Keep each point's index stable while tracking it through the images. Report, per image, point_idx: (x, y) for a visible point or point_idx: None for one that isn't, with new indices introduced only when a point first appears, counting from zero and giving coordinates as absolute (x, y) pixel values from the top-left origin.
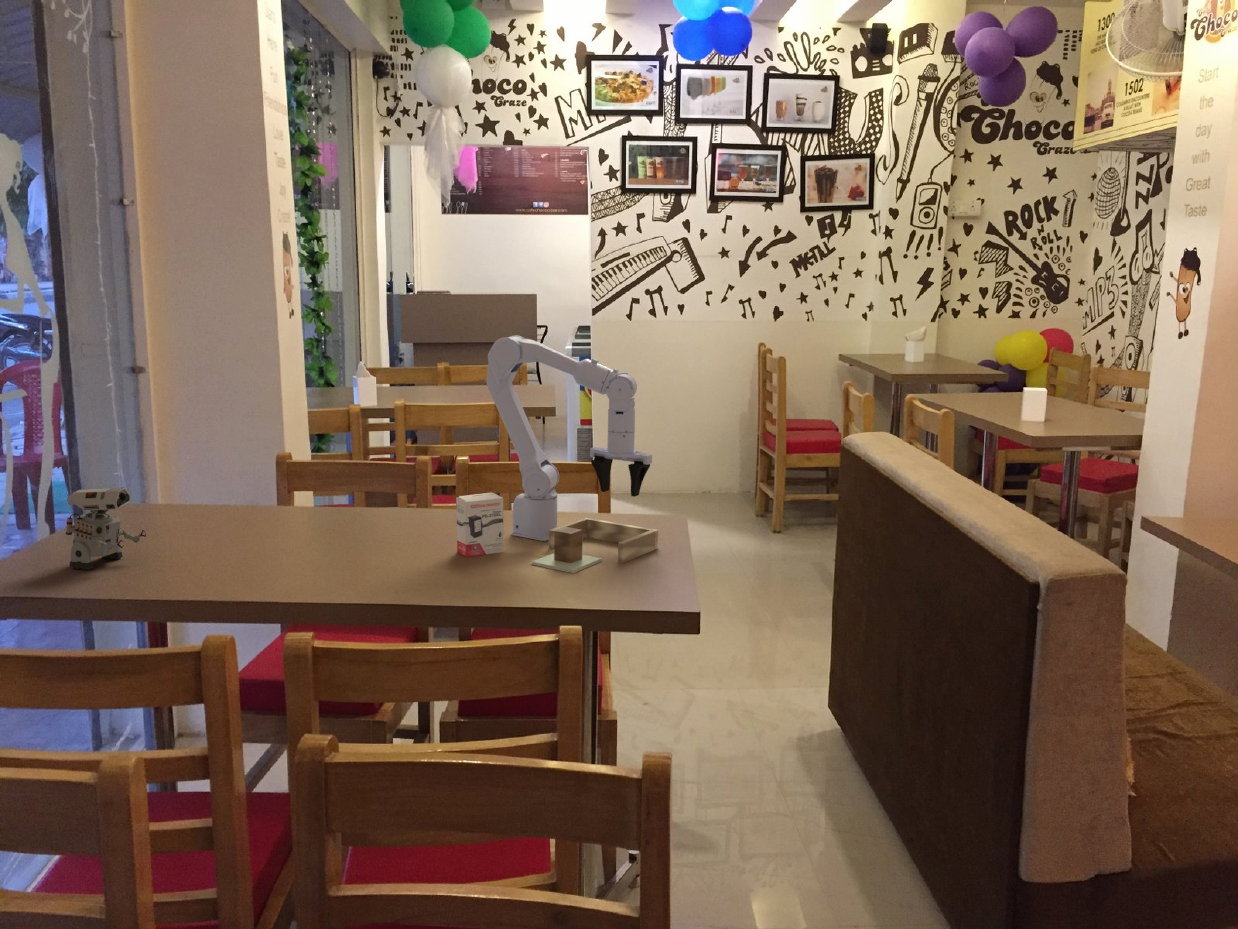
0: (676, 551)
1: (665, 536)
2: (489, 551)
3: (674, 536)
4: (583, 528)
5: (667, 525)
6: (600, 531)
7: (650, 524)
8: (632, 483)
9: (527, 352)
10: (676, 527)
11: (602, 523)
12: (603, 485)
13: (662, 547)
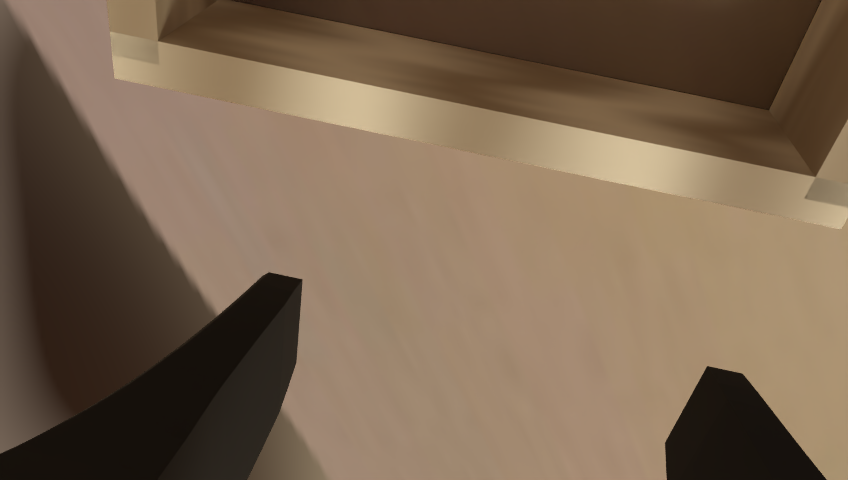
0: (45, 13)
1: None
2: None
3: None
4: (821, 88)
5: (378, 475)
6: (658, 111)
7: (464, 471)
8: (199, 369)
9: None
10: (322, 457)
11: (649, 138)
12: (732, 427)
13: None
